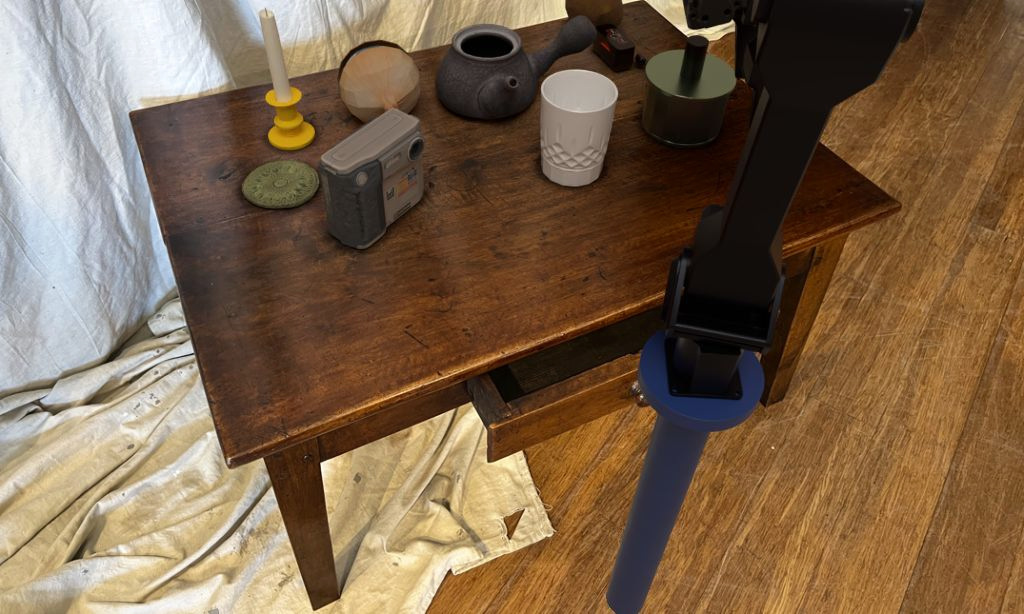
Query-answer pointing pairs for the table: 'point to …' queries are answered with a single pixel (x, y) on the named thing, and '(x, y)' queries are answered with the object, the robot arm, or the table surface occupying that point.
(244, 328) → the table surface
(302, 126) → the candle
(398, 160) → the camera
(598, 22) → the potato
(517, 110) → the teapot
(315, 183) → the medallion
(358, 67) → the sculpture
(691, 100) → the lid
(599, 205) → the table surface
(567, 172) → the white cup
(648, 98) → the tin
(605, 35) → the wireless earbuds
